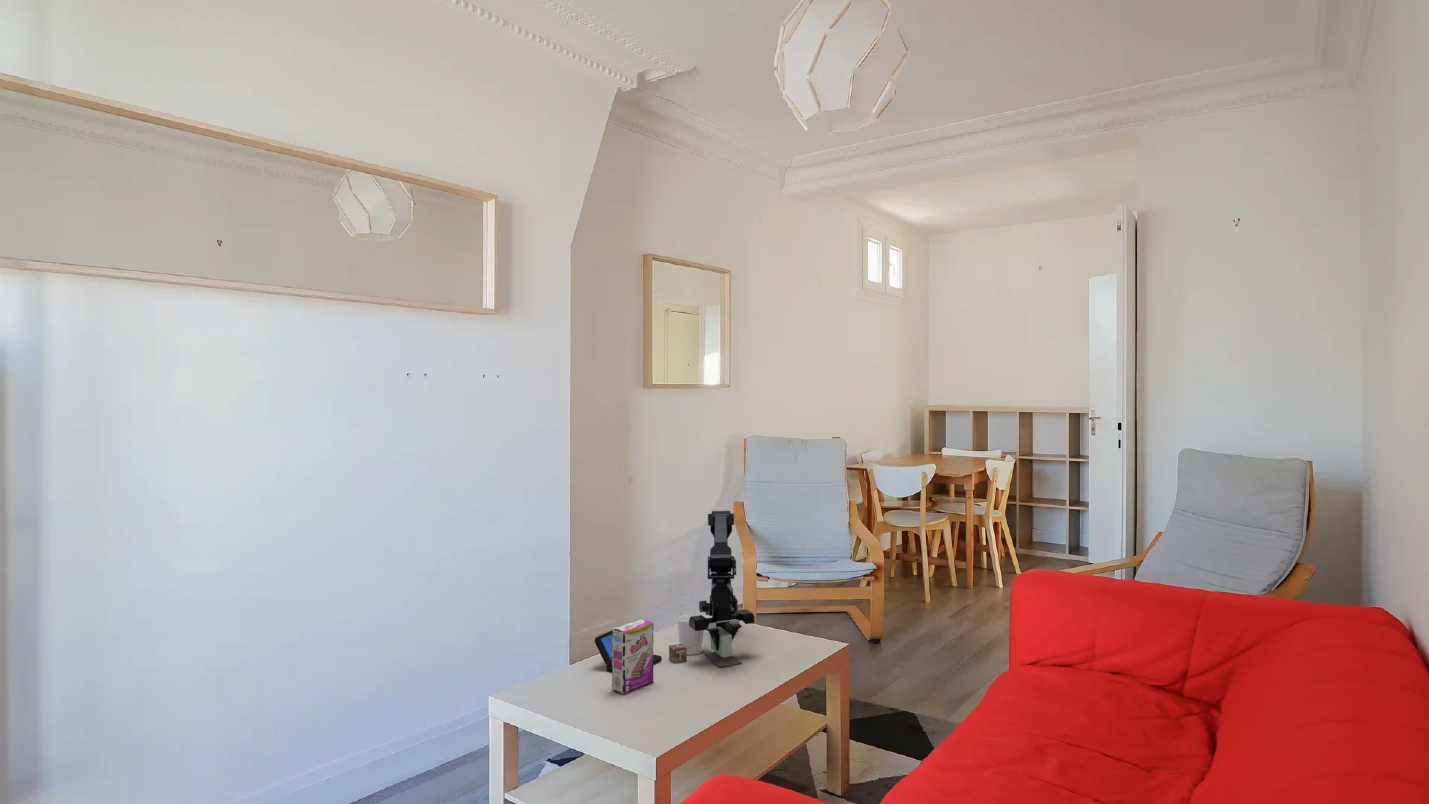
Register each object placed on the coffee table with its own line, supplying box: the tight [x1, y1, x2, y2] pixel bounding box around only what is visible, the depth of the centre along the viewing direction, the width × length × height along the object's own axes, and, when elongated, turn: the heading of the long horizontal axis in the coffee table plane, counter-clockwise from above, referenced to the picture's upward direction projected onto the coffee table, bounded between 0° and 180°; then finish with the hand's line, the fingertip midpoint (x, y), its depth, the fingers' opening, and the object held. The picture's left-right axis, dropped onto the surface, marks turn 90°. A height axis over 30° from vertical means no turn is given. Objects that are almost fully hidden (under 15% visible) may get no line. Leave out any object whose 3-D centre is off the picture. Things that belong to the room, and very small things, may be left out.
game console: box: [594, 630, 662, 673], centre depth 218 cm, size 16×14×9 cm
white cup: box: [677, 614, 705, 656], centre depth 229 cm, size 8×8×10 cm
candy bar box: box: [611, 619, 654, 695], centre depth 201 cm, size 11×5×16 cm, turn 141°
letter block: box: [668, 643, 688, 664], centre depth 221 cm, size 4×4×4 cm
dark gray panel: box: [703, 651, 743, 669], centre depth 221 cm, size 7×12×1 cm, turn 22°
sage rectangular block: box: [709, 627, 733, 657], centre depth 222 cm, size 9×3×6 cm, turn 22°
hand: (722, 649), depth 221 cm, fingers closed on sage rectangular block, 3 cm apart
